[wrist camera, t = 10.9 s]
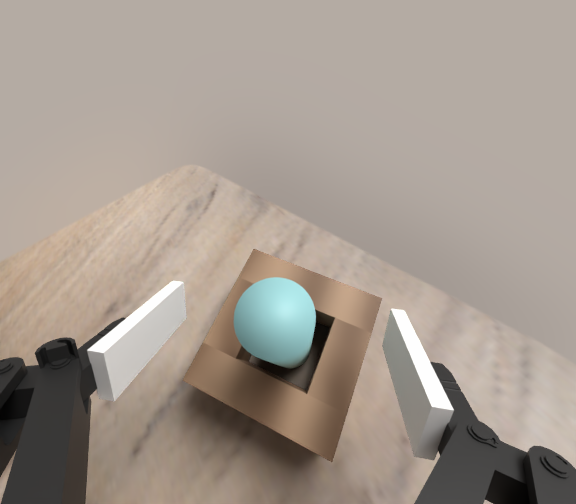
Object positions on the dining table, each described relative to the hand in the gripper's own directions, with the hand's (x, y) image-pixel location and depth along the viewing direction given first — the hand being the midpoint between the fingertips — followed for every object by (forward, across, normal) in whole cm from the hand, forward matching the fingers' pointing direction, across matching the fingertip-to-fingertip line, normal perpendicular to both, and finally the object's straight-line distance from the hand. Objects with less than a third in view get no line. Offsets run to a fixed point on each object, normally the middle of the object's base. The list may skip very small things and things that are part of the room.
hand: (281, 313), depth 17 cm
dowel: (+7, 0, -8) cm, 10 cm away
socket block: (+7, 0, -8) cm, 10 cm away
